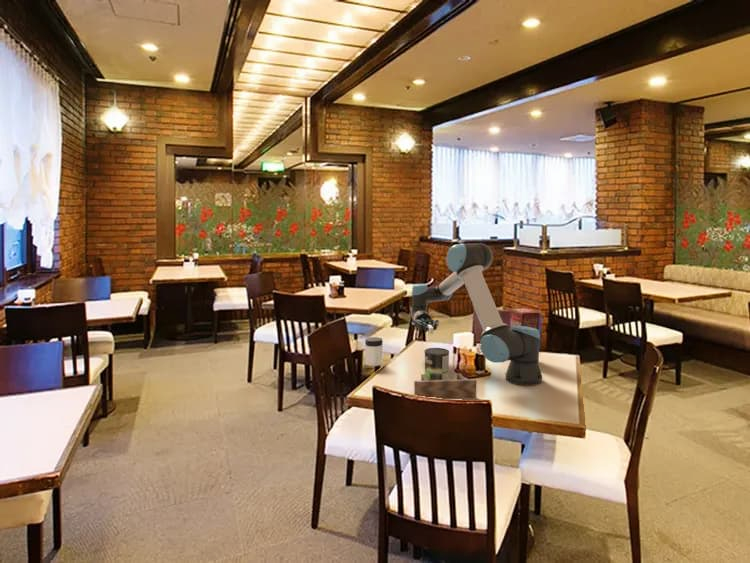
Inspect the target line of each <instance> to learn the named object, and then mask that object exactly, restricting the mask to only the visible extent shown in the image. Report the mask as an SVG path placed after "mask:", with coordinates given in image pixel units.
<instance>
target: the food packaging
mask: <svg viewBox="0 0 750 563" xmlns="http://www.w3.org/2000/svg"><path fill="white" fill-rule="evenodd" d="M509 311H510V314H509V315H510V316H509V329H510V331H511V328H512V326H525V327H531V328H535V329H537V330H538V331H539V332H540V312H539V311H535V310H533V309H530V308H527V307H514V308H510V310H509Z"/></svg>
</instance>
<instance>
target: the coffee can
mask: <svg viewBox="0 0 750 563" xmlns="http://www.w3.org/2000/svg"><path fill="white" fill-rule="evenodd" d="M423 352H424V374H425V375H426V377H427V379H428V380H449V369H450V368H449V366H450V365H449V364H450V362H449V360H450V350H449V349H446V348H443V347H430V348H429V347H428V348H426V349H424V351H423Z"/></svg>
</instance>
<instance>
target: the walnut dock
mask: <svg viewBox="0 0 750 563" xmlns="http://www.w3.org/2000/svg"><path fill="white" fill-rule="evenodd" d="M420 375H421V377H420V378H421V379H420V380H414V381H413V382H414V385H413V387H414V389H413V391H414V394H413V396H414V395H417V396H425V397H436V398H454V399H476V398H477V382H478V381H477V378H474V379H473V378H471V379H470V378H469V379H468V378H467V379H466V378H465V377H464V376H463V374H462V373H461V372H457V373H456V379H448V380H428V379H427V377H426V375H425V373H422V374H420Z"/></svg>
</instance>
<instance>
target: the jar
mask: <svg viewBox="0 0 750 563" xmlns="http://www.w3.org/2000/svg"><path fill="white" fill-rule="evenodd" d="M364 341H365V348H364V349H365V351H364V352H365V365H366V366H369V367H379V366H383V363H384V362H383V358H384V357H383V342H384V341H383V338H381V337H377V336H375V337H374V336H371V337H367V338H366V337H365V340H364Z"/></svg>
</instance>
